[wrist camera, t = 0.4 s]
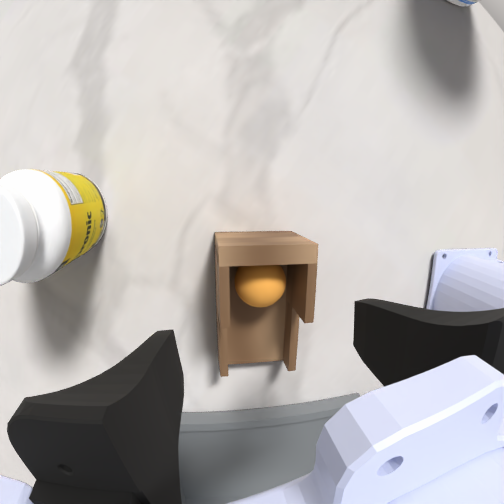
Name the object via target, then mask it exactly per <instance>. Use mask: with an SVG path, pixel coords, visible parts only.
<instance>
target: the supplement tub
mask: <svg viewBox="0 0 504 504" xmlns="http://www.w3.org/2000/svg"><path fill="white" fill-rule="evenodd" d="M447 1H449V2H451V3H453V4H455V5H459V6H470V5H472V4H474V3H476V2H478V1H480V0H447Z"/></svg>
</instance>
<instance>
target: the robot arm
mask: <svg viewBox="0 0 504 504" xmlns="http://www.w3.org/2000/svg"><path fill="white" fill-rule="evenodd" d="M443 254H444V256H443ZM497 255H498V251H497V249H495V248H482V249H451V250H437V251H436V252H435V254H434V260H433V268H432V276H431V283H430V289H429V296H428V301H427V307H426V309H424V308H418V307H413V306H408V305H403V304H398V303H394V302H389V301H384V300H378V299H363V300H359V301H355V312H354V342H353V345H354V347H355V349H356V351H357V352H358V354H359V356H360V357H361V359H362V360H363V362H364V363H365V364H366V366H367V367H368V368H369V369H370V370H371V372H372V373H373V374H374V375H375V376H376V377H377V379H378V380H379V381H380V382H381V383H382V384H383V385H384V387H382V388H379V389H376V390H373V391H370V392H368V393H366V394H364V395H362V396H360V397H358V398H356V399H354V400H352V401H350V402H348V403H346V404H345V405H344V406H343V407H342V408H341V409H340V410H339V411H338V412H337V413H336V414H335V415H334V416H333V417H332V418H330V419H329V420H328V421H327V422H326V423H325V424H324V427H323V429H322V432H321V434H320V436H319V439H318V441H317V444H316V460H315V465H314V469H313V471H312V472H310V473H309V474H307V475H304V476H302V477H300V478H297V479H295V480H292V481H290V482H288V483H285V484H282V485H280V486H277V487H275V488H272V489H269V490H267V491H264V492H261V493H258V494H255V495H252V496H249V497H246V498H243V499H240V500H236V501H233V502H230V503H226V504H504V261H501V260H498V259H497ZM442 256H443V258H442ZM183 398H184V377H183V371H182V366H181V362H180V358H179V354H178V349H177V345H176V340H175V335H174V331H173V330H164V331H157V332H156V333H154V334H153V335H152V336H151V337H149V338H148V339H147V340H146V341H145V342H144V343H143V344H141V345H140V346H139V347H138V348H137V349H136V350H135V351H133V352H132V353H131V354H129V355H128V356H127V357H126V358H124V359H123V360H122V361H120V362H119V363H118V364H116V365H115V366H113V367H112V368H110V369H108V370H107V371H105V372H103V373H102V374H100V375H98V376H96V377H94V378H91V379H89V380H87V381H85V382H83V383H80V384H78V385H75V386H72V387H70V388H67V389H63V390H60V391H57V392H53V393H48V394H43V395H38V396H33V397H26V398H24V400H23V401H22V403H21V404H20V406H19V407H18V409H17V410H16V412H15V413H14V415H13V416H12V418H11V419H10V421H9V422H8V427H7V432H8V436H9V440H10V442H11V444H12V446H13V447H14V449H15V451H16V452H17V454H18V455H19V457H20V458H21V460H22V461H23V462H24V464H25V465H26V467H27V468H28V469H29V471H30V472H31V473H32V475H33V476H34V477H35V478H36V479H37V480H36V482H35V484H34V487H33V488H32V487H31V486H30V485H28V484H27V483H25V482H22V481H19V480H15V479H12V478H8V477H5V476H2V475H0V504H182V501H181V491H180V477H179V455H178V443H179V432H180V423H181V415H182V407H183Z"/></svg>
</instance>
